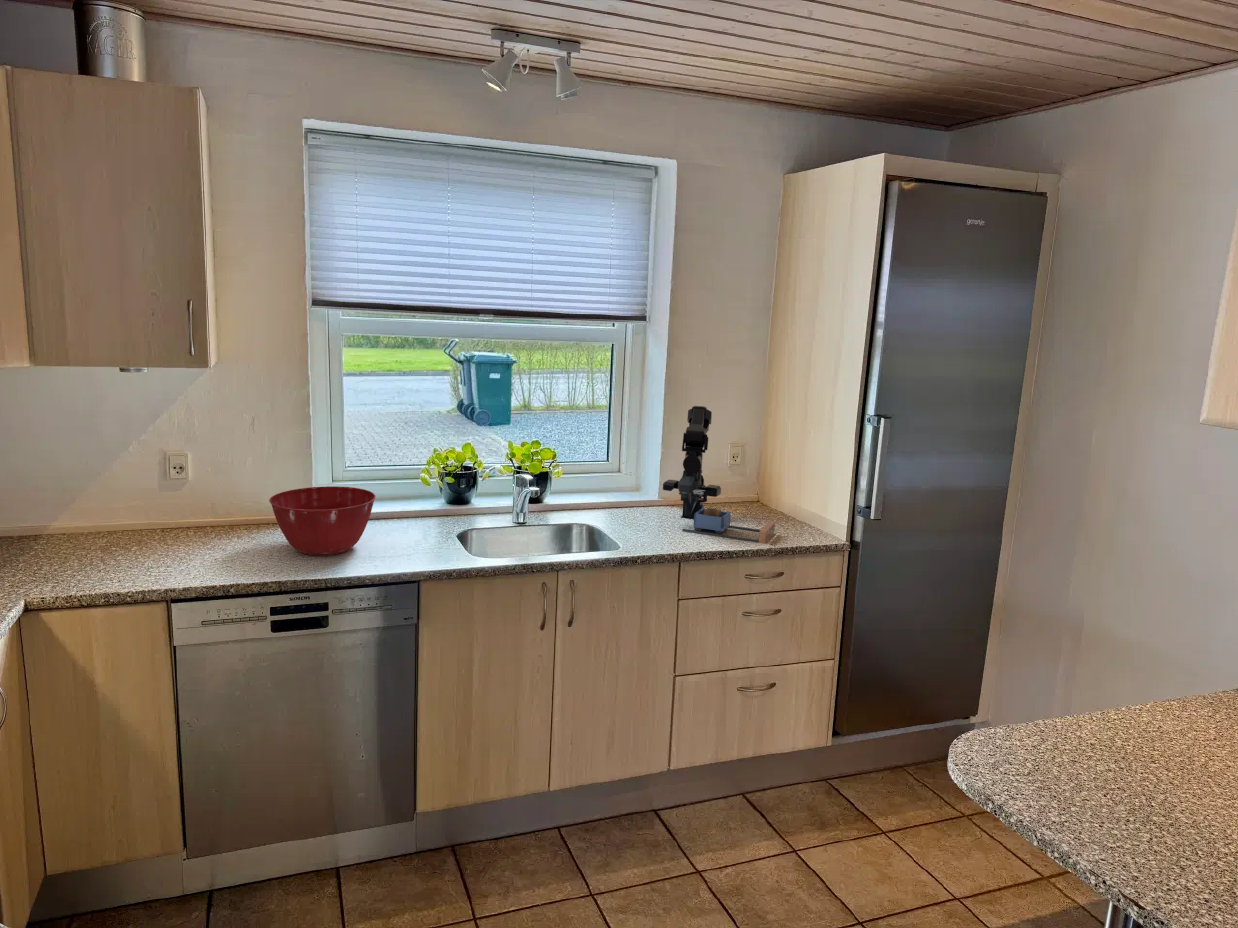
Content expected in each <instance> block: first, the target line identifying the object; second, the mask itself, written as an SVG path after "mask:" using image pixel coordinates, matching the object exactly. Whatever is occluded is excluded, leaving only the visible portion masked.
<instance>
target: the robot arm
mask: <svg viewBox="0 0 1238 928" xmlns="http://www.w3.org/2000/svg"><path fill="white" fill-rule="evenodd" d="M691 407H692V408H690V409H687V420H686V421H687V423H688V424H689V426H686V429H685V432H683V436H682V445H681V452H685V454H684V455H685V457H684V458H683V462H682V467H683V469H684V470H683V472H682V476H681V478H680V479H679V480H676V479H668V480H665V481H664V482H663V484H662V490H663V491H668V492H672V491H673V490H674V489H675V490H678V494H679V495H680V501H682V513H681V516H680V518H681V519H688V520H693V521H694V514H695V513H696V512H698V511H699V510H700V509H705V505H704V503H707V501H708V497H713V498H716V497H718V496H720V495H721V493H722V487H721V486H720V485H717V484H708V485H707V486H706V485H705V478H704V476H703V474H702V473H703V469H702V468H703V455H704V454H705V453H706V452H707V451H708V448H709V447H708V446H709V436H708V434H707V433H708V432H709V430H710V425H712V420H713V419H712V417H713V414H712V411H711V410H709V409H707V406H702V405H701V406H700V405H694V406H691Z"/></svg>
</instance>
